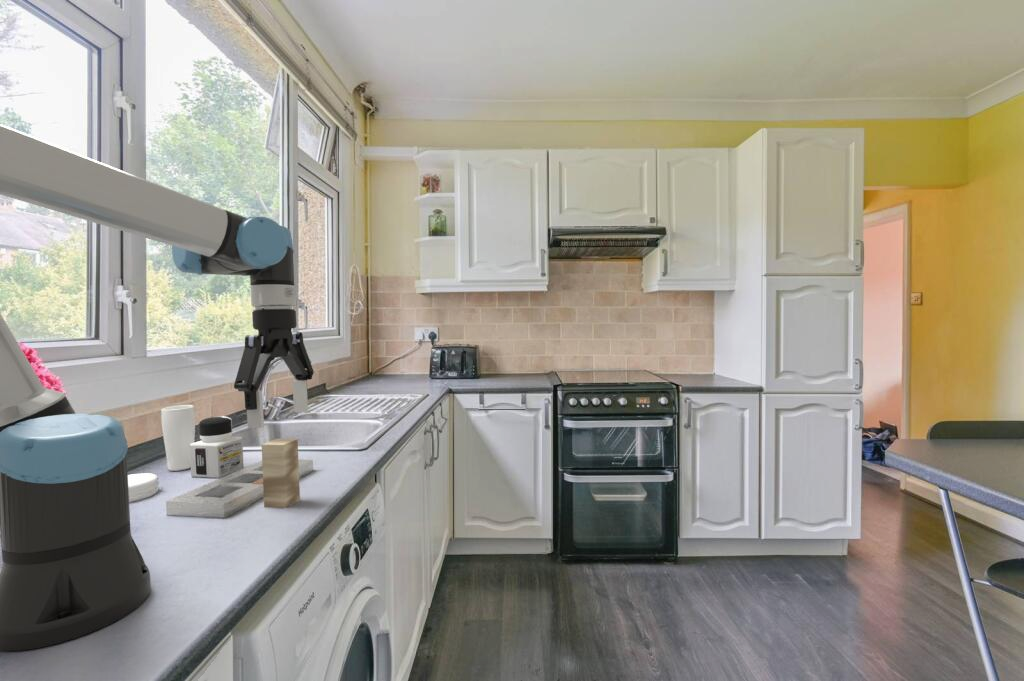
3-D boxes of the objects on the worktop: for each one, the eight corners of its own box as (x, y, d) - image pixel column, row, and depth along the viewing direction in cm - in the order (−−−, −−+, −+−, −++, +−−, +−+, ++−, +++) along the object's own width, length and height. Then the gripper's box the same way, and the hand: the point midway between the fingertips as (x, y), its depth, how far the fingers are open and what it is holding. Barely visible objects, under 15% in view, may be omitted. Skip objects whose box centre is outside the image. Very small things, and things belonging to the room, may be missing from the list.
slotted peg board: (224, 518, 89) (223, 503, 88) (166, 514, 91) (165, 500, 91) (313, 470, 116) (312, 459, 116) (267, 468, 118) (267, 457, 118)
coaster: (90, 499, 100) (89, 482, 100) (148, 485, 109) (147, 469, 108) (106, 509, 95) (105, 491, 94) (166, 494, 103) (165, 477, 103)
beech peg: (285, 508, 93) (283, 444, 92) (264, 507, 94) (261, 444, 93) (300, 499, 97) (297, 439, 97) (279, 498, 98) (276, 438, 97)
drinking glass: (164, 467, 121) (161, 406, 120) (197, 462, 125) (194, 403, 124) (163, 474, 115) (160, 410, 115) (197, 469, 119) (194, 407, 119)
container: (219, 478, 112) (216, 421, 111) (190, 477, 113) (187, 420, 112) (244, 468, 119) (241, 414, 118) (216, 467, 121) (214, 414, 120)
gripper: (245, 307, 81) (252, 435, 82) (327, 308, 105) (332, 406, 106) (205, 308, 82) (212, 434, 83) (296, 309, 107) (300, 406, 108)
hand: (280, 419), depth 95 cm, fingers open, 13 cm apart
